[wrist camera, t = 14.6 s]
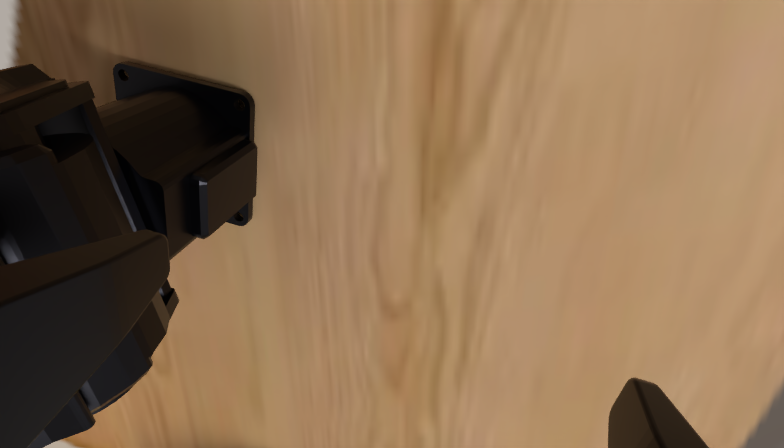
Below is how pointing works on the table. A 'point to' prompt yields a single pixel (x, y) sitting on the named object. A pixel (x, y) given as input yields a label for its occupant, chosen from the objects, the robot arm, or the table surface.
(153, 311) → the robot arm
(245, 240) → the table surface
